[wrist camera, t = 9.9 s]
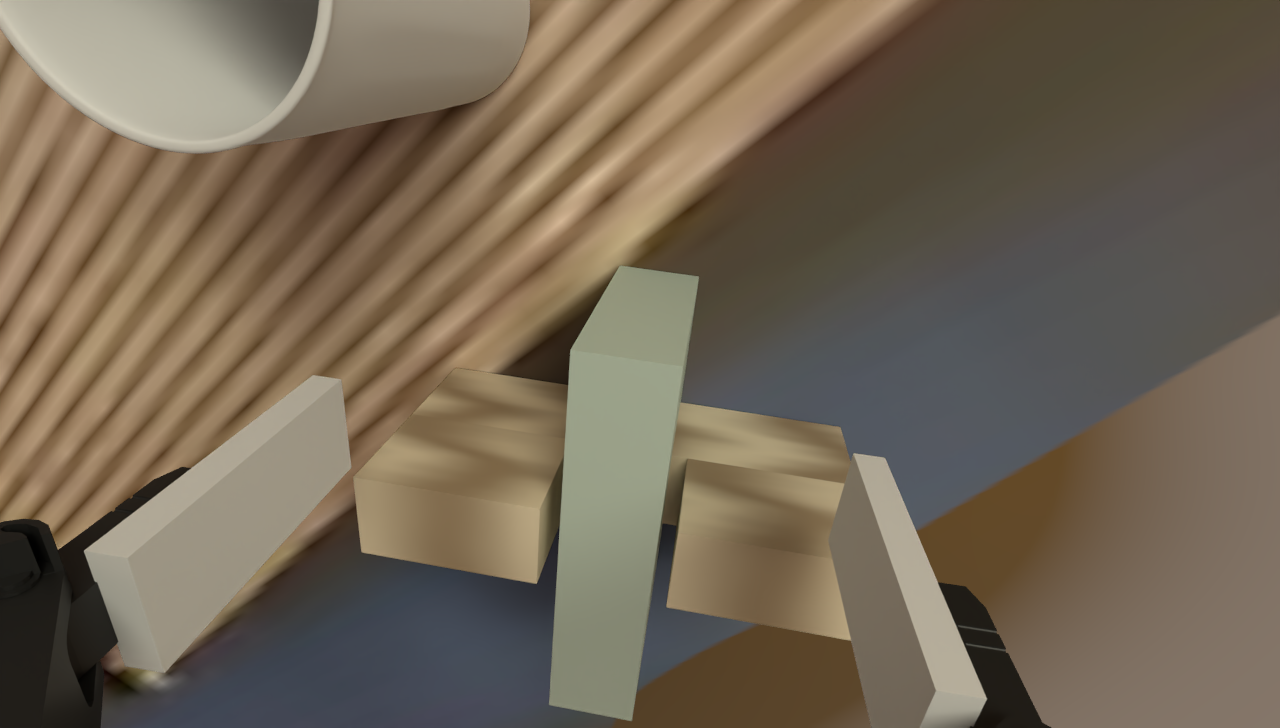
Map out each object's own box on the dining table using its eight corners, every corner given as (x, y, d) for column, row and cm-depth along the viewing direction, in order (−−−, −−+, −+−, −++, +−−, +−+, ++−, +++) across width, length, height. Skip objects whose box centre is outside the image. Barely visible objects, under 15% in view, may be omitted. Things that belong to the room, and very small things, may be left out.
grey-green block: (593, 552, 30) (549, 704, 23) (619, 265, 24) (570, 349, 17) (656, 563, 30) (631, 721, 23) (699, 276, 24) (683, 366, 17)
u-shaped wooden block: (457, 428, 28) (361, 552, 21) (455, 367, 27) (353, 477, 20) (823, 488, 27) (855, 641, 20) (840, 427, 26) (881, 567, 18)
